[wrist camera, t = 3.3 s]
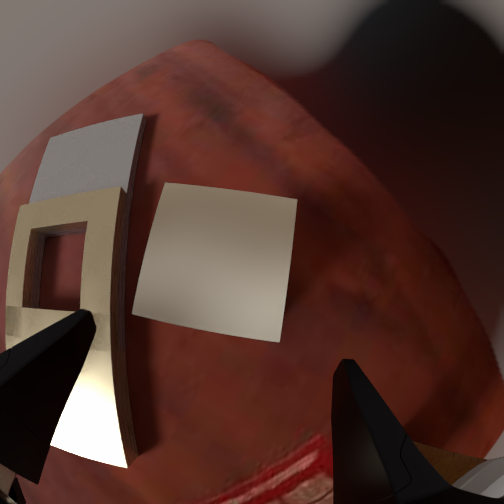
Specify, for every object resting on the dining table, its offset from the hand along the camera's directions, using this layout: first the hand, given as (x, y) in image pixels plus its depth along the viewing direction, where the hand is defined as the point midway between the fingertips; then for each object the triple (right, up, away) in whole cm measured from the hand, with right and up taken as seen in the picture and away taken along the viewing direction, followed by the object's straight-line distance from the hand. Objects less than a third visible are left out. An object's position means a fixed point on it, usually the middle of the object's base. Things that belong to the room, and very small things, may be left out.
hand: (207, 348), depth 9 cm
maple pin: (0, 0, +10) cm, 10 cm away
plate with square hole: (-14, +1, +11) cm, 18 cm away
